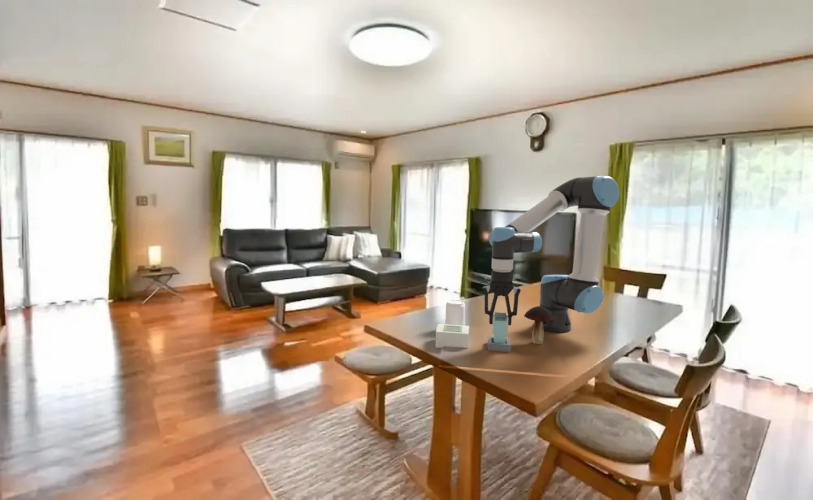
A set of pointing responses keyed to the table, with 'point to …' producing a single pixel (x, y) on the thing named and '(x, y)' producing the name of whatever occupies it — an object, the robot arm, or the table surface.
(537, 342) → the decorative mushroom
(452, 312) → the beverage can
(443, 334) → the port block
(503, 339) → the light blue tall block
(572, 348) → the table surface
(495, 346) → the holster
